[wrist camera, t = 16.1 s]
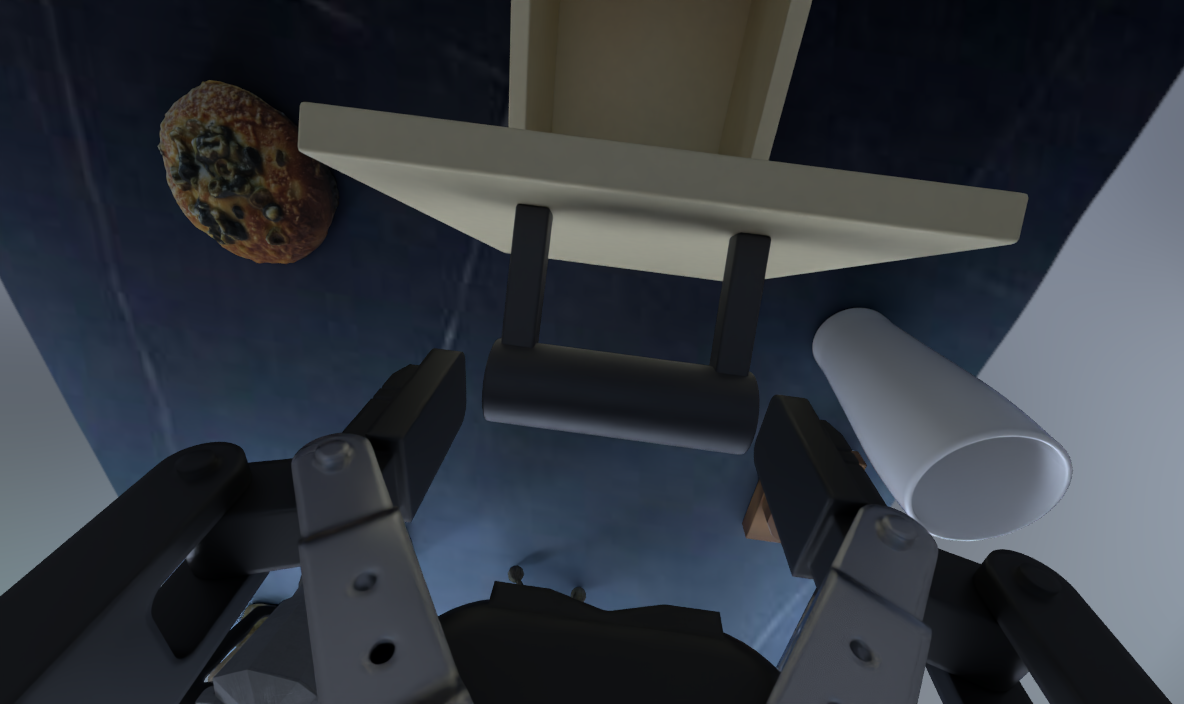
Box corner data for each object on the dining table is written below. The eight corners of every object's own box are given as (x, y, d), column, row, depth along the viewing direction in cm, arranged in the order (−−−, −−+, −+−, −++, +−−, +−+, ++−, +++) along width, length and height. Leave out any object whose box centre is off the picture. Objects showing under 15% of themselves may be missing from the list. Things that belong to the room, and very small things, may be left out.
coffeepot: (420, 507, 45) (308, 724, 30) (441, 570, 50) (354, 789, 34) (274, 506, 47) (92, 712, 31) (307, 567, 51) (163, 775, 36)
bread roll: (371, 237, 32) (319, 259, 28) (258, 271, 36) (197, 294, 32) (284, 57, 28) (206, 50, 24) (164, 116, 31) (78, 118, 27)
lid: (297, 98, 7) (279, 429, 8) (1032, 192, 7) (958, 521, 8) (504, 236, 23) (492, 345, 23) (741, 266, 23) (723, 375, 23)
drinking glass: (919, 311, 32) (1117, 456, 19) (863, 389, 36) (1000, 558, 22) (830, 282, 32) (971, 411, 19) (782, 363, 35) (873, 522, 22)
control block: (773, 439, 38) (786, 469, 35) (858, 451, 38) (878, 481, 35) (741, 523, 43) (750, 555, 40) (816, 533, 43) (830, 566, 40)
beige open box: (551, -86, 24) (514, -175, 16) (778, -59, 24) (849, -134, 16) (537, 206, 31) (505, 241, 23) (711, 228, 31) (738, 271, 23)
